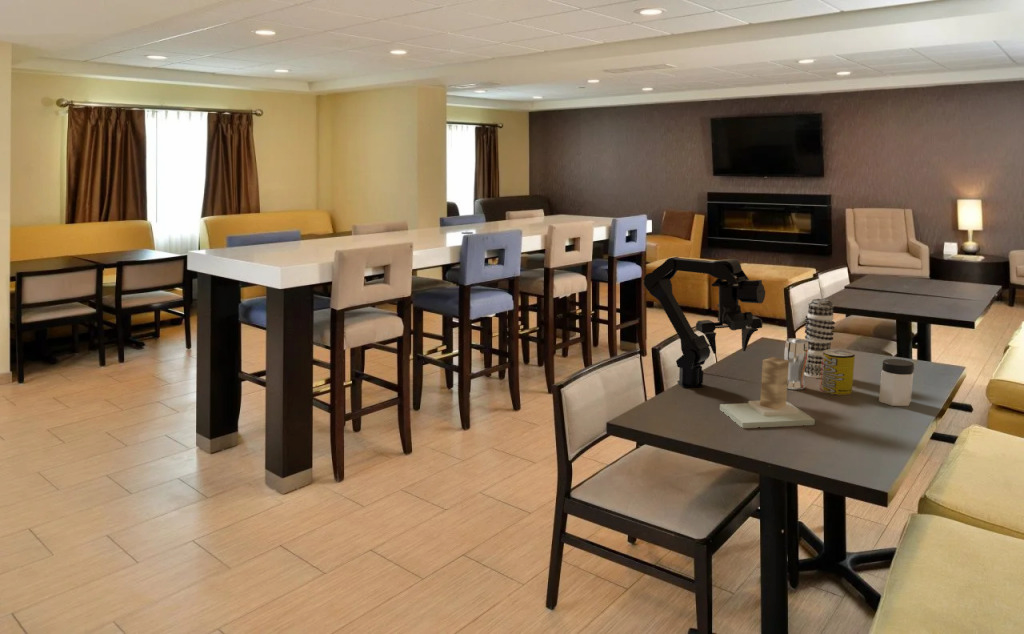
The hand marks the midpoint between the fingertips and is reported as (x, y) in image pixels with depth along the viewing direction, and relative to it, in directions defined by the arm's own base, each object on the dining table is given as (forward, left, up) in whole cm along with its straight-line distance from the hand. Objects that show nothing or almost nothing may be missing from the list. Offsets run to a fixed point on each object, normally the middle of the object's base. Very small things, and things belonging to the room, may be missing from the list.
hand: (729, 352), depth 233 cm
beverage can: (+33, -3, -13) cm, 36 cm away
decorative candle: (+36, +15, -13) cm, 41 cm away
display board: (+1, -24, -13) cm, 27 cm away
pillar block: (+4, -22, -10) cm, 24 cm away
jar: (+44, -16, -13) cm, 49 cm away
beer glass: (+22, +2, -13) cm, 26 cm away
